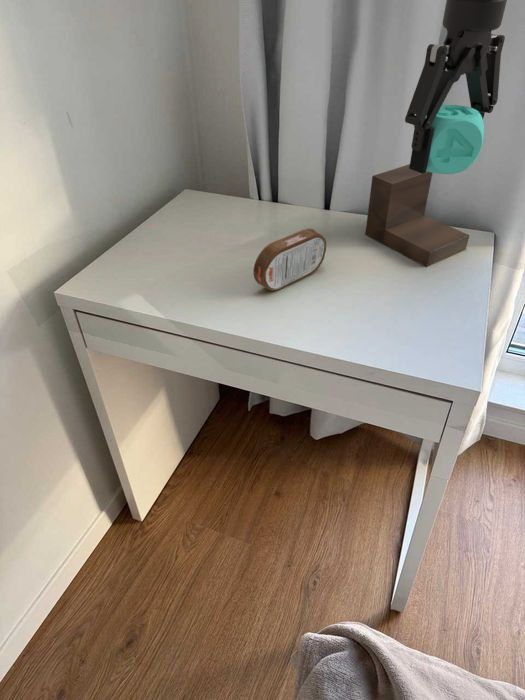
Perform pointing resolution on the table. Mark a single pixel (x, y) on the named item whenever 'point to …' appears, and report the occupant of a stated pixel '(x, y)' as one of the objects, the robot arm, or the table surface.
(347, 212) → the table surface
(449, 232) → the shelf stand
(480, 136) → the decorative dice
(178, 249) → the table surface
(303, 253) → the tin
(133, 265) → the table surface
